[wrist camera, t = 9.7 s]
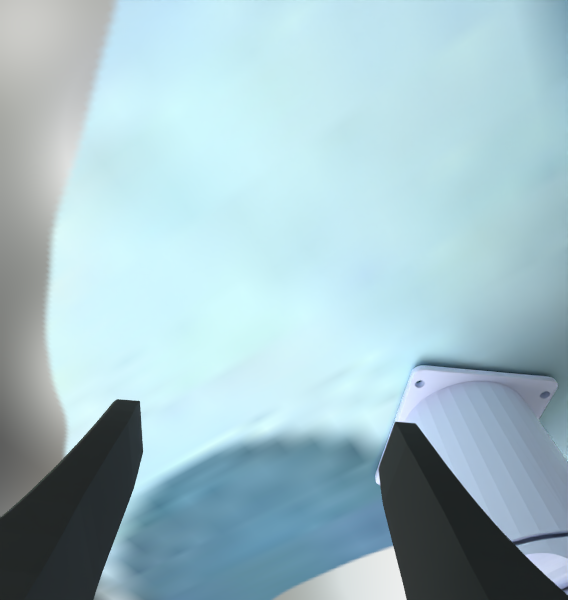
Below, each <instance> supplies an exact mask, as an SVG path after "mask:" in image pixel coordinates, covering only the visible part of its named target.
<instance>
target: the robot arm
mask: <svg viewBox="0 0 568 600" xmlns="http://www.w3.org/2000/svg"><path fill="white" fill-rule="evenodd" d="M420 380H422V381H421V382H419V383H416V382H417V381H420ZM557 388H558V383H557V382H556V381H555V379H554V378H552V377H547V376H536V375H525V374H514V373H503V372H492V371H481V370H470V369H459V368H447V367H436V366H425V365H421V366H417V367H415V368H414V369H413V370H412V372H411V375H410V378H409V381H408V383H407V386H406V389H405V392H404V395H403V398H402V400H401V403H400V406H399V409H398V412H397V415H396V418H395V420H394V423H393V426H392V429H391V432H390V435H389V437H388V440H387V443H386V446H385V449H384V452H383V454H382V457H381V460H380V463H379V466H378V469H377V472H376V474H375V480H376V483H377V484H379V485H380V486H381V494H382V500H383V506H384V510H385V514H386V518H387V522H388V526H389V530H390V534H391V538H392V542H393V546H394V549H395V553H396V558H397V561H398V565H399V569H400V573H401V577H402V581H403V585H404V589H405V594H406V598H407V600H568V462H567V460H566V459H565V458H564V456H563V455H562V453H561V452H560V450H559V449H558V447H557V446H556V444H555V443H554V442H553V440H552V439H551V437H550V436H549V434H548V433H547V431H546V430H545V428H544V427H543V425H542V424H541V423H540V421H539V419H540V417H541V415H542V413H543V412H544V410H545V408H546V407H547V405H548V403H549V401H550V400H551V398H552V396H553V395H554V393H555V391H556V390H557ZM142 454H143V444H142V428H141V412H140V401H132V400H119V399H117V400H116V401H114V402H113V403H112V404H111V406H110V407H109V408H108V409H107V411H106V412H105V413H104V414H103V415H102V416H101V418H100V419H99V420H98V421H97V422H96V424H95V425H94V426H93V427H92V428H91V429H90V430H89V431H88V433H87V434H86V435H85V436H84V437H83V438H82V439H81V440H80V441H79V443H78V444H77V445H76V446H75V447H74V448H73V449H72V450H71V451H70V452H69V453H68V454H67V455H66V456H65V457H64V459H63V460H62V461H61V462H60V463H59V464H58V465H57V466H56V467H55V468H54V469H53V470H52V471H51V472H50V473H49V474H48V475H46V476H45V477H44V478H43V479H42V480H41V481H40V482H39V483H38V484H37V485H36V486H35V487H34V488H33V489H32V490H31V491H30V492H29V493H28V494H27V495H26V496H25V497H23V498H22V499H21V500H20V501H19V502H18V503H17V504H16V505H14V506H13V507H12V508H11V509H10V510H9V511H8V512H6V513H5V514H4V515H3V516H2V517H1V518H0V600H93V599H94V596H95V592H96V589H97V586H98V583H99V580H100V577H101V574H102V571H103V569H104V566H105V563H106V561H107V558H108V555H109V553H110V550H111V547H112V545H113V542H114V540H115V537H116V534H117V532H118V529H119V526H120V524H121V521H122V518H123V516H124V513H125V510H126V508H127V505H128V502H129V500H130V497H131V494H132V491H133V489H134V485H135V481H136V478H137V474H138V470H139V466H140V462H141V458H142Z"/></svg>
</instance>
